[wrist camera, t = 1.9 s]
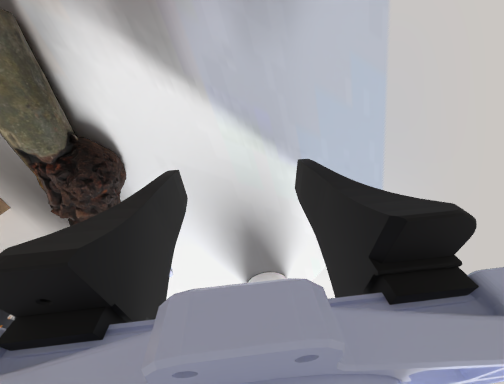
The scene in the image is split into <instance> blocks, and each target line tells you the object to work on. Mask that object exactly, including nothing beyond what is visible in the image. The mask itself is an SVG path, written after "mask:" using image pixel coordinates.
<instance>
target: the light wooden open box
mask: <svg viewBox="0 0 504 384" xmlns="http://www.w3.org/2000/svg"><path fill="white" fill-rule="evenodd" d="M8 209H10V207H9V206H8V205H7V204H6V203H5V202H3V201H2V200H1V199H0V215H1V214H2V213H4V212H5V211H7V210H8Z"/></svg>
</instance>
